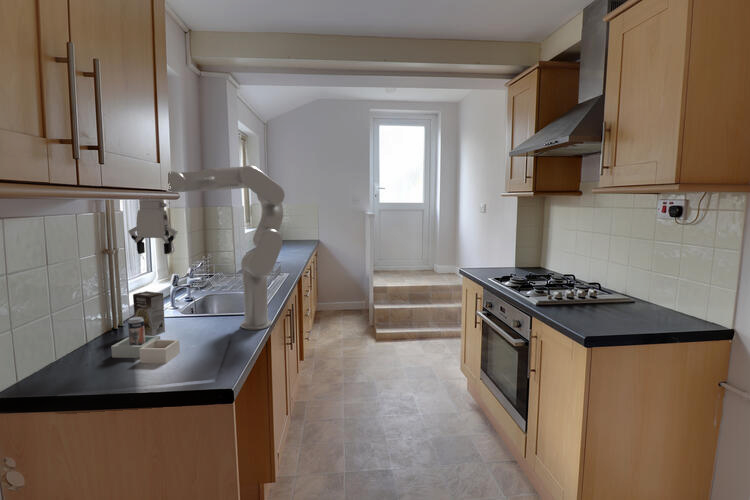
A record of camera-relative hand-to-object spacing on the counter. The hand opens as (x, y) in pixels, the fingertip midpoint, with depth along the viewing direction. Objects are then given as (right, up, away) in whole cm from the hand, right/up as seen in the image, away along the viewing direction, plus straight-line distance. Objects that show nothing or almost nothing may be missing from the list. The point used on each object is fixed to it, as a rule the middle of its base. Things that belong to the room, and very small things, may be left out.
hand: (154, 253), depth 142 cm
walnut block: (+9, -35, -13) cm, 38 cm away
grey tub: (-1, -35, -8) cm, 35 cm away
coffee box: (-9, -32, +13) cm, 36 cm away
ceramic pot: (+9, -35, -13) cm, 39 cm away
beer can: (-1, -34, -8) cm, 35 cm away
